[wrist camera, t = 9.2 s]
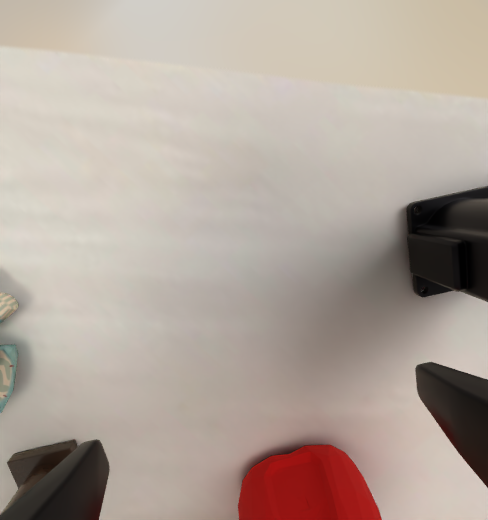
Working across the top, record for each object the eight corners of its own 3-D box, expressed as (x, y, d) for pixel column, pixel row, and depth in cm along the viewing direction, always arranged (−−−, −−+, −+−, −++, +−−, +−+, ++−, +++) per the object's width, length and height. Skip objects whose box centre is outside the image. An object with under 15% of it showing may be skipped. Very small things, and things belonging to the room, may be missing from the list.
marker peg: (75, 439, 21) (31, 509, 17) (94, 488, 22) (58, 568, 17) (13, 453, 21) (-49, 529, 16) (35, 502, 22) (-17, 587, 17)
